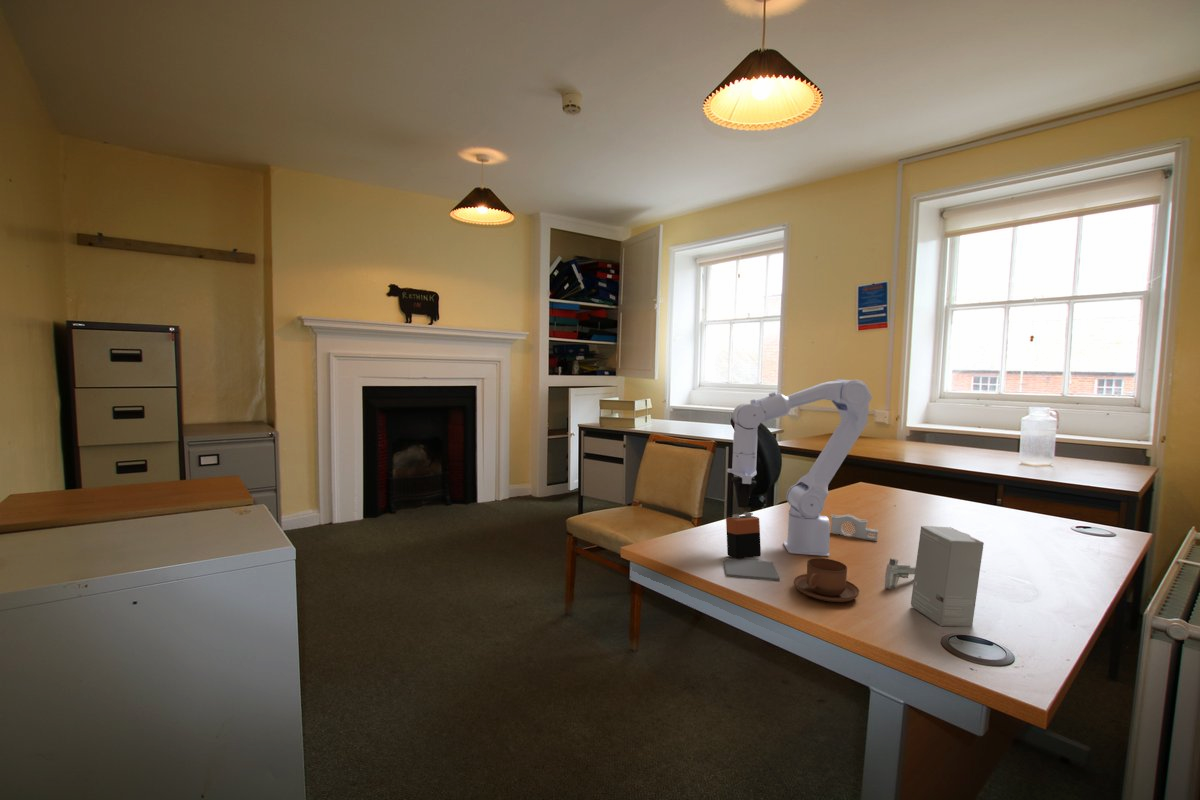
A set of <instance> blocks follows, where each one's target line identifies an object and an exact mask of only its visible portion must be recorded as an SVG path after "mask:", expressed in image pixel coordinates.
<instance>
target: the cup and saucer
mask: <svg viewBox="0 0 1200 800" xmlns="http://www.w3.org/2000/svg"><path fill="white" fill-rule="evenodd" d="M847 574H848V566H847V565H846V564H845V563H843V562H841V561H838V560H835V559H830V558H823V557H813V558H810V559H808V560H807V562H806V573H804V574H800V575H798V576H795V578H794V579H793V582H794V586H795V588H797V590H799V591H800V593H802V594H804V595H805V596H808V597H810V598H813V599H814V600H815V599H816V600H819V601H824V602H829V603H845V602H846V603H847V602H850V601H853V600H854V599H855V598H857V597H858V596H859V594H860V590H859V588H858V586H857V585H855V584H854V583H852V582H850V581H848V580H847V577H848V575H847Z"/></svg>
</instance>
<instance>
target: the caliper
mask: <svg viewBox="0 0 1200 800" xmlns="http://www.w3.org/2000/svg"><path fill="white" fill-rule="evenodd" d="M886 565H887V566H886V569H885V576H884V588H885V589H887V590H891V589H896V588H897V585H898V582H899V581H900V578H902V579H909V575H915V569H916V565H915V566H914V565H912V566H911V565H909V564H906V563H899V559H896V558H889V563H887V564H886Z"/></svg>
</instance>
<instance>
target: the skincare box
mask: <svg viewBox="0 0 1200 800" xmlns="http://www.w3.org/2000/svg"><path fill="white" fill-rule="evenodd" d="M984 545H985V543H984V542H983V541H982V540H979V539H977V538H975V537H973V536H971V534H969V533H965V532H962V531H959V530H958V529H955V528H954V527H951V526H949V527H948V526H933V525H921V526H920V533H919V541H918V546H917V555H916V561H915V562H916V563H915V566H916V569H915V574H914V576H913V583H912V584H913V585H912V591H911V592H912V594H911V599H910V605H911V607H912V608H913V609H914V610H917V611H918V612H920V613H921V614H922V615H924V616H926V617H927V618H928V619H930V620H931V621H933V622H934V623H936V624H938V625H939V626H940V627H941V626H942V627H943V626H944V627H949V626H950V627H954V626H956V627H970V626H971V627H972V626H973V623H974V617H975V616H974V615H975V609H976V602H977V594H978V588H979V582H980V581H979V580H980V579H979V578H980V571H981V566H982V565H981V564H982V558H983V551H984Z"/></svg>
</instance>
